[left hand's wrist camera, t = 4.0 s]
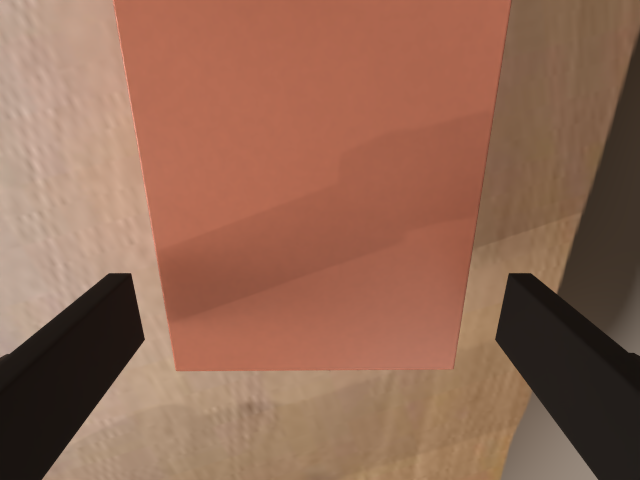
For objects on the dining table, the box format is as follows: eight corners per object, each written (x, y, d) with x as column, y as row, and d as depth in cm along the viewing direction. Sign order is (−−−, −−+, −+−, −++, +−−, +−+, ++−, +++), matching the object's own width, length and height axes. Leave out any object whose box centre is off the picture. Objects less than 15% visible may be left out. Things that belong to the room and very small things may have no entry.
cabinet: (194, -56, 17) (74, -215, 9) (433, -55, 17) (546, -211, 9) (226, 274, 23) (175, 372, 15) (404, 274, 23) (454, 370, 15)
